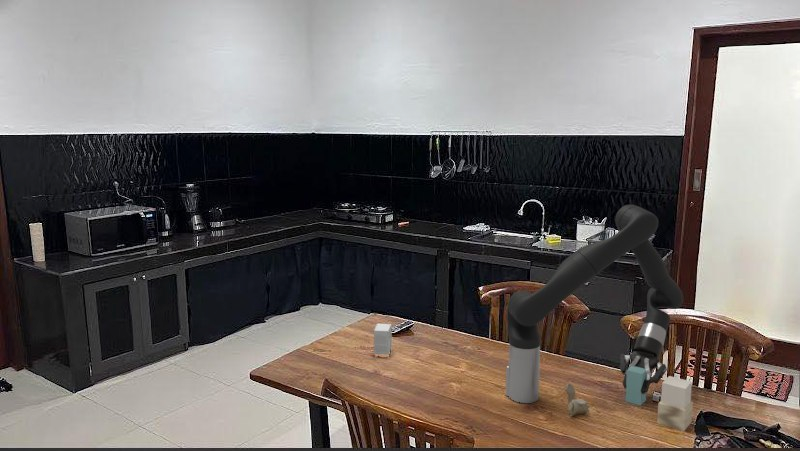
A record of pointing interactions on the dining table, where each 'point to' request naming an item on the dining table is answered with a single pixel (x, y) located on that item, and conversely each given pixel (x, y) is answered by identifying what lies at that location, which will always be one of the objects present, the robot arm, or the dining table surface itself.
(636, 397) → the teal block
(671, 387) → the cream block
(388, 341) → the small box
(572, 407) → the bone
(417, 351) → the dining table surface
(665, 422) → the beech block
